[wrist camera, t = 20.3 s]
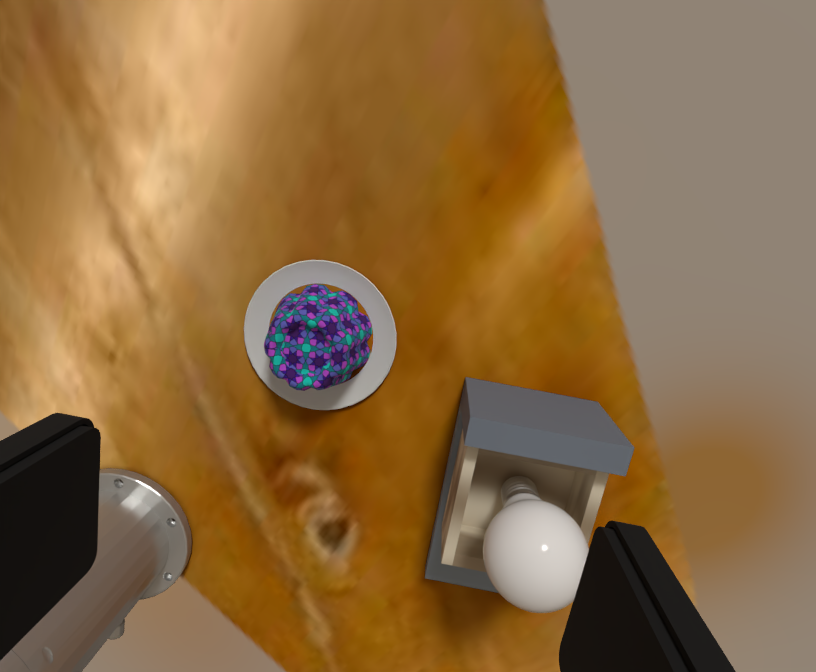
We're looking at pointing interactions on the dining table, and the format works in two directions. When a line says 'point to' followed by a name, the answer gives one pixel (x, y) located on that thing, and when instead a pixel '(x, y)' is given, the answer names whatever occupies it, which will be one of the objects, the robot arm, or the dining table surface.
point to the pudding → (319, 335)
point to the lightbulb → (533, 550)
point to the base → (526, 446)
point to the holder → (481, 498)
